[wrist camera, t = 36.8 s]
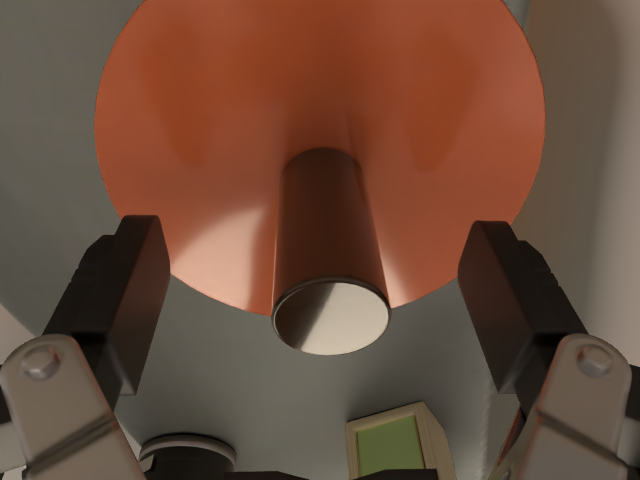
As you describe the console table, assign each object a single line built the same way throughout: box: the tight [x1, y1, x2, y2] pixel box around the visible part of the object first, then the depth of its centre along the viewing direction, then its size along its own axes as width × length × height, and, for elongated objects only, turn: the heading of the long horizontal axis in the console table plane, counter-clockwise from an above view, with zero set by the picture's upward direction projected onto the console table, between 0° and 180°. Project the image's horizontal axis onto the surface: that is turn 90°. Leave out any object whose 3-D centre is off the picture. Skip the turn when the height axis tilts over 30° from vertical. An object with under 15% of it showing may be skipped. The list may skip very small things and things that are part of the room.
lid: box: [94, 0, 546, 355], centre depth 12 cm, size 13×13×6 cm
